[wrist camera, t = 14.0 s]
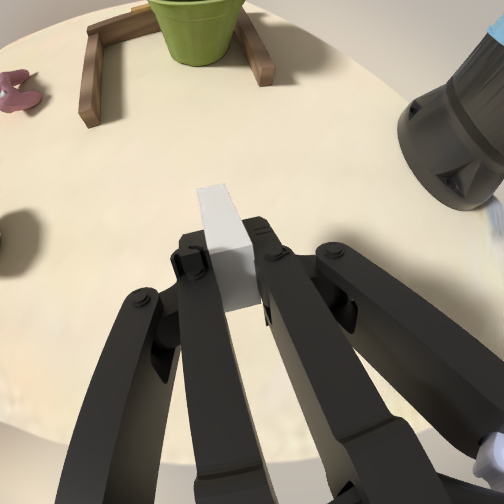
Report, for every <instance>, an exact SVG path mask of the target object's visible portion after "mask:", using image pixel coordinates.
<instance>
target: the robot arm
mask: <svg viewBox="0 0 504 504" xmlns="http://www.w3.org/2000/svg"><path fill="white" fill-rule="evenodd" d="M487 31H488V33H487V34H486V35H485V37H484V38H483V39H482V41H481V42H480V43H479V44H478V46H477V47H476V48H475V49H474V51H473V52H472V53H471V54H470V55H469V57H468V58H467V59H466V60H465V61H464V63H463V64H462V65H461V66H460V67H459V69H458V70H457V71H456V72H455V73H454V75H453V76H452V77H451V78H450V79H449V80H448V82H447V83H446V84H444V85H442V86H440V87H438V88H436V89H434V90H432V91H430V92H428V93H426V94H424V95H423V96H420V97H418V98H416V99H415V100H413V101H412V102H411V103H410V104H409V105H408V106H407V108H406V109H405V110H404V111H403V113H402V114H401V116H400V118H399V121H398V128H397V131H398V139H399V144H400V147H401V150H402V153H403V155H404V157H405V159H406V161H407V163H408V165H409V167H410V169H411V170H412V172H413V173H414V175H415V176H416V178H417V179H418V180H419V182H420V183H421V184H422V185H423V186H424V187H425V189H426V190H427V191H428V192H429V193H430V194H432V195H433V196H434V197H435V198H436V199H438V200H439V201H440V202H442V203H443V204H445V205H447V206H449V207H451V208H453V209H456V210H462V211H467V210H471V209H474V208H476V207H478V206H479V205H481V204H483V203H485V202H486V201H487V200H488V199H489V198H490V197H491V196H492V194H493V193H494V192H495V190H496V189H497V188H498V186H499V185H500V184H501V182H502V181H503V179H504V14H503V15H502V16H501V17H500V18H499V19H498V20H497V21H496V23H495V24H494V25H493V26H489V27H488V29H487ZM197 195H198V200H199V206H200V211H201V217H202V222H203V227H204V230H200V231H196V232H192V233H188V234H183V235H182V237H181V239H180V240H179V249H177V250H175V252H174V253H173V254H172V255H171V258H170V260H171V263H172V266H173V269H174V272H175V275H176V278H177V282H176V283H175V284H174V285H173V286H172V287H170V288H168V289H167V290H165V291H162V292H160V293H158V292H157V290H155V289H153V288H149V287H145V288H140V289H137V290H135V291H133V292H132V293H130V294H129V295H128V296H127V297H126V299H125V300H124V302H123V304H122V306H121V309H120V311H119V313H118V315H117V318H116V320H115V322H114V324H113V327H112V329H111V331H110V334H109V336H108V338H107V341H106V343H105V346H104V348H103V351H102V353H101V356H100V358H99V361H98V363H97V366H96V368H95V371H94V374H93V376H92V379H91V382H90V384H89V387H88V390H87V393H86V395H85V398H84V401H83V404H82V407H81V410H80V413H79V416H78V419H77V422H76V425H75V428H74V431H73V435H72V438H71V441H70V445H69V448H68V451H67V455H66V459H65V462H64V466H63V470H62V474H61V478H60V482H59V486H58V490H57V495H56V499H55V504H154V500H155V492H156V485H157V478H158V471H159V465H160V459H161V452H162V446H163V440H164V434H165V429H166V423H167V417H168V412H169V406H170V401H171V396H172V391H173V385H174V380H175V375H176V370H177V365H178V361H179V356H180V351H181V352H182V363H183V373H184V382H185V391H186V400H187V408H188V415H189V423H190V430H191V436H192V443H193V449H194V456H195V462H196V467H197V477H196V479H195V481H194V496H195V502H196V504H279V503H278V500H277V497H276V495H275V492H274V488H273V485H272V482H271V479H270V476H269V473H268V470H267V466H266V463H265V460H264V456H263V453H262V450H261V446H260V443H259V439H258V436H257V432H256V429H255V425H254V422H253V418H252V415H251V411H250V408H249V404H248V400H247V397H246V393H245V389H244V386H243V382H242V378H241V374H240V371H239V367H238V363H237V359H236V355H235V351H234V347H233V343H232V339H231V335H230V331H229V327H228V323H227V319H226V316H225V312H229V311H233V310H237V309H241V308H245V307H249V306H253V305H257V304H261V299H262V302H263V307H264V314H265V321H266V326H268V325H269V326H270V329H271V331H272V334H273V337H274V339H275V342H276V345H277V347H278V350H279V352H280V355H281V358H282V360H283V363H284V365H285V368H286V371H287V373H288V376H289V378H290V381H291V383H292V386H293V389H294V391H295V394H296V396H297V399H298V402H299V404H300V407H301V409H302V412H303V414H304V417H305V419H306V422H307V425H308V427H309V430H310V432H311V435H312V437H313V440H314V442H315V445H316V447H317V450H318V452H319V455H320V458H321V460H322V463H323V465H324V468H325V472H326V477H327V481H328V485H329V487H330V490H331V493H332V496H333V498H334V500H333V501H331V502H329V503H328V504H504V362H503V361H502V360H501V359H500V358H499V357H497V356H496V355H495V354H494V353H493V352H491V351H490V350H489V349H488V348H487V347H485V346H484V345H483V344H482V343H480V342H479V341H478V340H477V339H475V338H474V337H473V336H472V335H470V334H469V333H468V332H467V331H465V330H464V329H463V328H462V327H460V326H459V325H458V324H456V323H455V322H454V321H453V320H451V319H450V318H449V317H447V316H446V315H445V314H443V313H442V312H441V311H439V310H438V309H437V308H435V307H434V306H433V305H431V304H430V303H429V302H427V301H426V300H425V299H423V298H422V297H421V296H419V295H418V294H416V293H415V292H414V291H412V290H411V289H410V288H408V287H407V286H405V285H404V284H403V283H401V282H400V281H398V280H397V279H396V278H394V277H393V276H391V275H390V274H389V273H387V272H386V271H384V270H383V269H381V268H380V267H378V266H377V265H376V264H374V263H373V262H371V261H370V260H368V259H367V258H365V257H364V256H362V255H361V254H359V253H358V252H356V251H355V250H354V249H352V248H351V247H349V246H347V245H345V244H343V243H338V242H328V243H324V244H322V245H320V246H319V247H318V248H317V249H316V255H296V254H294V252H293V251H292V250H291V249H290V248H289V247H287V246H284V245H282V244H281V242H280V241H279V239H278V237H277V236H276V234H275V232H274V231H273V229H272V228H271V227H270V224H269V223H268V221H267V220H266V219H264V218H262V217H260V216H258V217H253V218H249V219H244V220H241V218H240V216H239V214H238V212H237V210H236V207H235V205H234V203H233V201H232V199H231V197H230V194H229V192H228V190H227V188H226V186H225V183H222V184H218V185H213V186H209V187H204V188H200V189H197ZM260 296H261V298H260ZM352 347H353V348H354V349H355V350H356V351H357V352H358V353H359V354H360V355H361V356H362V357H363V358H364V359H365V360H366V361H367V362H368V363H369V364H370V365H371V366H372V367H373V368H374V369H375V370H376V371H377V372H378V373H379V374H380V375H381V376H382V377H383V378H384V379H385V380H386V381H387V382H388V383H389V384H390V385H391V386H392V387H393V388H394V389H395V390H396V391H397V392H398V393H399V394H400V395H401V396H402V397H403V398H404V399H406V400H407V401H408V402H409V403H410V404H411V405H412V406H413V407H414V408H415V409H416V410H417V411H418V412H419V413H420V414H421V415H422V416H423V417H424V418H425V419H426V420H427V421H428V422H429V423H430V424H431V425H432V426H433V427H434V428H435V429H436V430H437V431H438V432H439V433H440V434H441V435H442V436H443V437H444V438H445V439H446V440H447V441H448V442H449V443H450V444H451V445H453V446H454V447H455V448H456V449H458V450H459V451H461V452H462V453H464V454H465V455H467V456H469V457H471V458H473V459H475V460H476V463H475V464H474V466H473V474H474V475H475V476H476V477H478V478H481V477H482V478H483V479H484V480H486V481H487V482H488V484H489V485H490V487H491V489H487V488H483V487H480V486H476V485H473V484H470V483H467V482H464V481H460V480H458V479H455V478H452V477H449V476H446V475H443V474H440V473H437V472H436V471H435V469H434V467H433V465H432V463H431V461H430V460H429V458H428V456H427V454H426V452H425V450H424V449H423V447H422V445H421V443H420V441H419V440H418V438H417V436H416V434H415V433H414V431H413V429H412V428H411V426H410V425H409V423H408V422H407V421H406V420H404V419H403V418H402V417H397V416H394V415H392V414H391V413H390V411H389V410H388V408H387V407H386V405H385V403H384V401H383V399H382V398H381V396H380V394H379V392H378V391H377V389H376V387H375V385H374V384H373V382H372V380H371V379H370V377H369V375H368V373H367V372H366V370H365V368H364V366H363V365H362V363H361V361H360V360H359V358H358V356H357V355H356V353H355V351H354V350H353V348H352Z"/></svg>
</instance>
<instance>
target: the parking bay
mask: <svg viewBox="0 0 504 504" xmlns="http://www.w3.org/2000/svg"><path fill="white" fill-rule="evenodd" d="M158 31H161V28H160V26H159V23H158V20H157V18H156V15H155V13H154V12H153V11H152V9H151V7H150V5H149V4H145V5H141V6H137V7H133V8H131V12H129V13H126V14H122V15H119V16H116V17H113V18H110V19H107V20H104V21H101V22H98V23H96V24H93V25H90V26H88V27H87V34H88V36H89V37H88V42H87V47H86V53H85V59H84V66H83V73H82V80H81V89H80V99H79V110H78V113H79V115H80V117H81V118H82V120H83V121H84V123H85V124H86V126H87V127H88V128H91V127H94V126H96V125H99V124H100V103H101V79H102V64H103V53H104V47H106V46H109V45H112V44H115V43H118V42H122V41H125V40H128V39H132V38H135V37H139V36H142V35H146V34H150V33H154V32H158ZM234 32H235V34H236V36H237V38H238V40H239V43H240V45H241V47H242V49H243V51H244V53H245V56H246V58H247V60H248V62H249V65H250V67H251V69H252V71H253V74H254V76H255V78H256V81H257V83H258V85H259V86H268V85H272V82H273V76H274V71H275V65H274V63H273V61H272V59H271V57H270V55H269V54H268V52H267V50H266V48H265V46H264V44H263V42H262V41H261V39H260V37H259V35H258V33H257V31H256V30H255V28H254V26H253V24H252V23H251V21H250V19H249V17H248V16H247V14H246V12H245V11H244V9H243V7H242V6H241V9H240V12H239V15H238V18H237V21H236V24H235V27H234Z"/></svg>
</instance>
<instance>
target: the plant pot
mask: <svg viewBox="0 0 504 504" xmlns="http://www.w3.org/2000/svg"><path fill="white" fill-rule="evenodd" d="M244 2H245V0H148V3H149V5H150V7H151V9H152V11H153V12H154V13H155V15H156V18H157V20H158V23H159V26H160V28H161V31H162V33H163V36H164V38H165V41H166V44H167V46H168V49H169V52H170V54H171V56H172V58H173V59H174V60H175V61H177V62H179V63H185V64H188V65H190V66H202V65H207V64H211V63H214V62H216V61H218V60H219V59H221V58H222V57H223V55H224V54H225V53H226V52H227V50H228V47H229V43H230V40H231V37H232V34H233V30H234V27H235V24H236V21H237V18H238V15H239V12H240V9H241V6H242V5H243V4H244Z"/></svg>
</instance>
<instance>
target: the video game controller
mask: <svg viewBox="0 0 504 504" xmlns="http://www.w3.org/2000/svg"><path fill="white" fill-rule="evenodd" d="M28 77H29V72H28V71H27V70H24V69H21V70H16V71H11V72H2V73H0V111H2V112H5V113H12V112H14V111H20V110H24V109H28V108H30V107H32V106H35V105H36V104H38V103H39V102H40V101H41V98H42V95H41V93H40V92H38V91H28V92H21V93H20V91H19V90H18V89H16V88H14V87H13V86H16V85H18V84H21V83H22V82H24V81H25V80H27V79H28Z"/></svg>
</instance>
